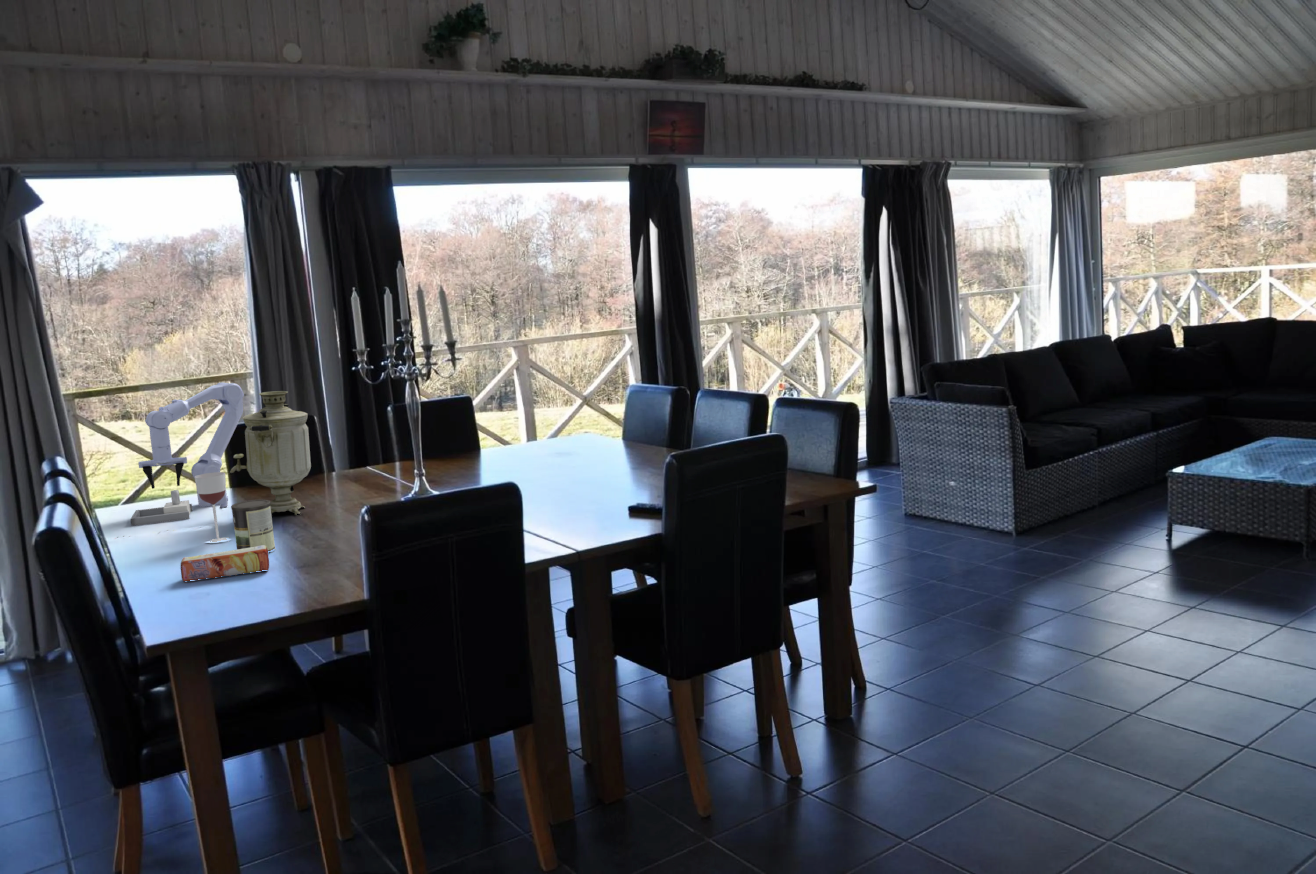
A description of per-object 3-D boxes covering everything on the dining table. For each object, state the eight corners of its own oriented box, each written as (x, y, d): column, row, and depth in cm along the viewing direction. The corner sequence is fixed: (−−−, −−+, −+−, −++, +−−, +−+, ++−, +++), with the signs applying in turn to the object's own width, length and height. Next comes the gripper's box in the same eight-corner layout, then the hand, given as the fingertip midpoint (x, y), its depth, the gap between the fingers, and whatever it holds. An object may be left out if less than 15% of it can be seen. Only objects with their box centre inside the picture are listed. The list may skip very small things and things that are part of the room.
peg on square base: (190, 511, 346) (187, 487, 345) (188, 517, 338) (185, 491, 337) (167, 514, 344) (164, 489, 343) (164, 520, 336) (161, 494, 334)
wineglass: (239, 537, 311) (231, 472, 308) (218, 545, 303) (209, 478, 300) (218, 536, 314) (209, 471, 311) (196, 544, 306) (188, 478, 303)
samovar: (267, 502, 360) (254, 388, 354) (336, 502, 355) (324, 386, 348) (215, 524, 331) (199, 400, 325) (289, 523, 326) (274, 397, 320)
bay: (193, 513, 349) (191, 503, 348) (189, 522, 336) (188, 511, 335) (137, 520, 343) (135, 510, 343) (132, 529, 330) (130, 518, 330)
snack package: (181, 585, 264) (178, 559, 263) (184, 578, 271) (181, 553, 269) (270, 573, 271) (267, 548, 270) (271, 566, 277) (268, 542, 276)
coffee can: (232, 558, 287) (225, 508, 285) (243, 548, 297) (237, 500, 295) (270, 555, 288) (264, 506, 286) (280, 546, 298) (274, 498, 296)
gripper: (135, 450, 338) (140, 491, 340) (184, 446, 344) (189, 486, 346) (137, 447, 345) (142, 487, 347) (185, 443, 350) (189, 482, 352)
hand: (165, 486), depth 347 cm, fingers open, 7 cm apart
